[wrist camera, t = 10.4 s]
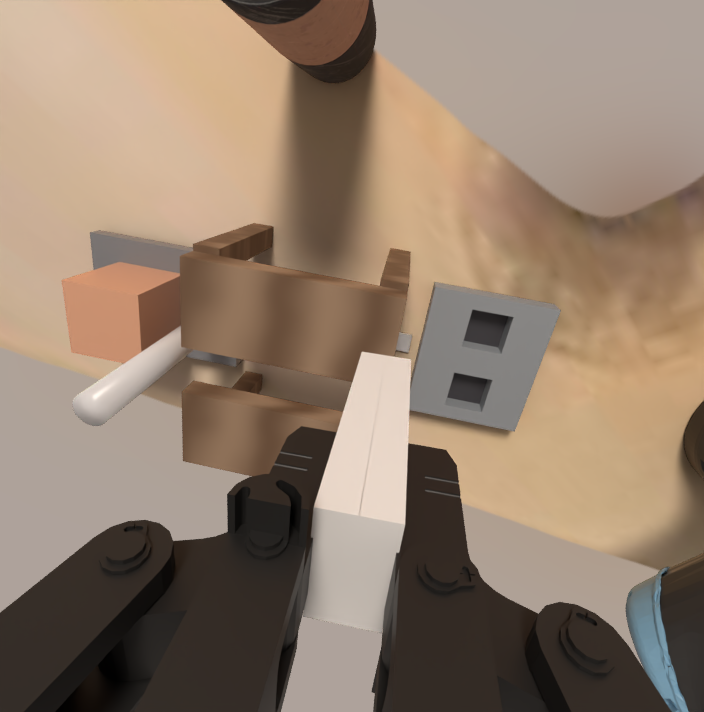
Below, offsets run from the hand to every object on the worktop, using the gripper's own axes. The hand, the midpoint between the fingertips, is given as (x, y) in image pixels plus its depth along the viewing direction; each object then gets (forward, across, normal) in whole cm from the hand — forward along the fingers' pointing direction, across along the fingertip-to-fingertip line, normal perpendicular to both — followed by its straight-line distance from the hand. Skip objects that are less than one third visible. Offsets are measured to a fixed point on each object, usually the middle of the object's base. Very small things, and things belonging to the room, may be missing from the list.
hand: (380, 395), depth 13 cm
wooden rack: (+31, +16, +10) cm, 36 cm away
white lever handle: (+31, +24, +9) cm, 41 cm away
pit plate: (+31, -9, +11) cm, 34 cm away
